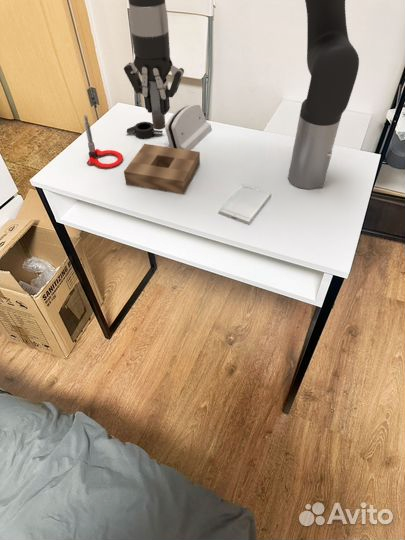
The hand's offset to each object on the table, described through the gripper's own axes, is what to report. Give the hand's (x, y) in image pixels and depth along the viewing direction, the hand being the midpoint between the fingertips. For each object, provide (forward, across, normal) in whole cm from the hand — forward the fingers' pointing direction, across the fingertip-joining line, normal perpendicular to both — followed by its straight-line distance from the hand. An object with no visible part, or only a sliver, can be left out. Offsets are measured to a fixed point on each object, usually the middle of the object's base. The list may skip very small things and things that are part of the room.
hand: (157, 111), depth 89 cm
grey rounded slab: (+18, -1, -20) cm, 27 cm away
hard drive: (+18, -24, +7) cm, 31 cm away
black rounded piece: (+18, +13, -18) cm, 29 cm away
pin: (+4, 0, 0) cm, 4 cm away
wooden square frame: (+17, 0, 0) cm, 17 cm away
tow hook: (+18, +18, -2) cm, 25 cm away
